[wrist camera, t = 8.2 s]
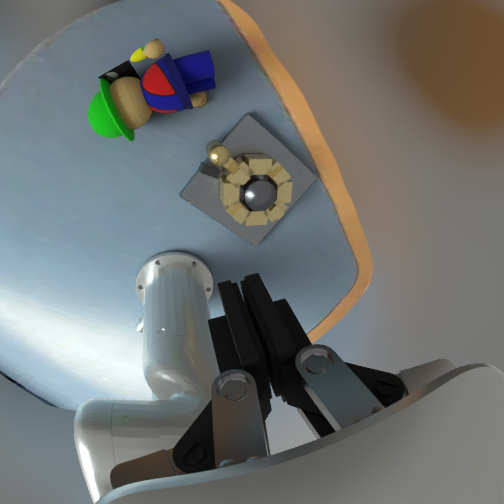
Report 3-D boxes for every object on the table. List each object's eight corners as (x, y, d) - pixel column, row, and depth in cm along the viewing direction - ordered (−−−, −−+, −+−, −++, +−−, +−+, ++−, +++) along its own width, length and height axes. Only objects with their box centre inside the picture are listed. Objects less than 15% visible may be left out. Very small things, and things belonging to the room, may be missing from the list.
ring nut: (295, 185, 40) (310, 197, 36) (250, 227, 42) (259, 244, 38) (234, 118, 33) (243, 121, 29) (183, 168, 35) (184, 179, 31)
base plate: (253, 243, 45) (263, 262, 40) (176, 191, 37) (176, 206, 33) (313, 175, 41) (331, 187, 37) (242, 110, 34) (253, 113, 29)
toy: (189, 7, 20) (60, 73, 20) (222, 51, 20) (69, 130, 20) (203, 69, 32) (104, 118, 32) (229, 114, 32) (119, 169, 31)
